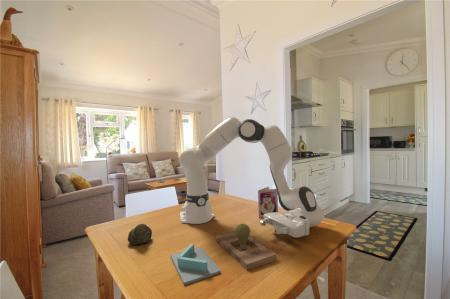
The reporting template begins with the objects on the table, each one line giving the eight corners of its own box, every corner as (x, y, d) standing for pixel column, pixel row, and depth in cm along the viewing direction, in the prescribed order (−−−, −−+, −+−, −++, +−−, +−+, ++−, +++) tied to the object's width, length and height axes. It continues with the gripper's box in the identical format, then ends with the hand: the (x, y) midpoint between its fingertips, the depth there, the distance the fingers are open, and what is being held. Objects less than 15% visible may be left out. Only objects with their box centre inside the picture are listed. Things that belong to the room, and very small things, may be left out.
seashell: (119, 236, 85) (144, 234, 85) (128, 212, 95) (151, 210, 95) (127, 251, 92) (151, 250, 92) (135, 227, 101) (157, 226, 101)
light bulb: (235, 246, 86) (234, 221, 85) (249, 245, 86) (248, 220, 86) (237, 253, 80) (236, 227, 80) (252, 252, 81) (251, 226, 80)
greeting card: (259, 218, 115) (258, 190, 115) (254, 214, 123) (253, 187, 122) (278, 216, 118) (278, 188, 117) (272, 211, 125) (272, 186, 125)
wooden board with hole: (216, 240, 91) (216, 236, 91) (240, 234, 97) (240, 229, 97) (247, 270, 70) (246, 264, 70) (276, 259, 75) (276, 254, 75)
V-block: (170, 256, 80) (170, 246, 80) (201, 248, 85) (200, 239, 85) (184, 285, 64) (183, 272, 63) (220, 272, 69) (220, 261, 69)
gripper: (277, 207, 104) (253, 212, 98) (311, 220, 86) (285, 228, 79) (277, 220, 104) (253, 226, 98) (312, 236, 86) (285, 245, 80)
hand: (268, 227), depth 88 cm, fingers open, 8 cm apart
